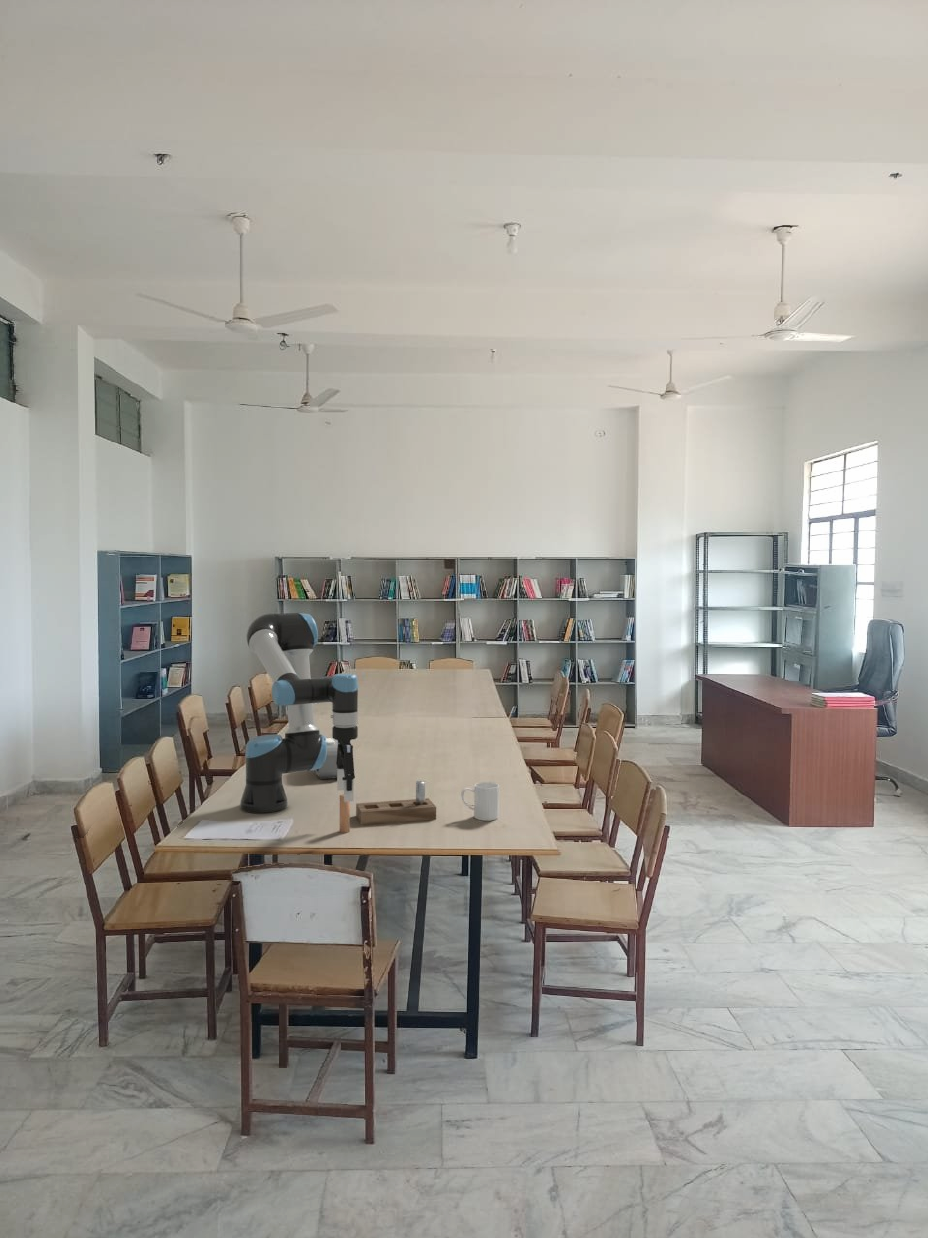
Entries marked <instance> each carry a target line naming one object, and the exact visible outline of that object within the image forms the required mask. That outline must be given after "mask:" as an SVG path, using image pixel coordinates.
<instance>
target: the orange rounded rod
mask: <svg viewBox="0 0 928 1238" xmlns="http://www.w3.org/2000/svg"><path fill="white" fill-rule="evenodd" d="M350 804H351V801H349V802H344V793H343V794H340V795H339V833H341V834H346V833H347V834H348V833H349V832H350V829H351V827H350V826H351V825H350V821H351V820H350V819H351V818H350V816H351V815H350V814H351V813H350V812H351V808H350V807H351V806H350Z"/></svg>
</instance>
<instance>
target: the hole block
mask: <svg viewBox="0 0 928 1238" xmlns="http://www.w3.org/2000/svg"><path fill="white" fill-rule="evenodd" d="M355 804H356V805H355V807H356V808H355V816H356V818H357V819H358V821H359V823H360V825H361V826H364V825H365V826H366V825H377V824H390V823H401V822H402V823H403V822H416V821H417V822H418V821H427V820H428V821H429V820H437V806H436V804H434V802H433V801H432V800H431V799H430V798H426V797H425V805H417V806H416V798H415V799H398V800H385V801H384V800H383V801H371V802H356V803H355Z"/></svg>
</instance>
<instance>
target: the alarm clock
mask: <svg viewBox="0 0 928 1238" xmlns="http://www.w3.org/2000/svg"><path fill="white" fill-rule="evenodd" d="M325 738H326V742H327V755H326V759H325V762H324V764H323V766H322V767H321V768H319V769H315V770H313V771H314V772H315V774H316V776H318V778H319V779H320V780H324V779H325V780H327V779H337V769H339V768H337V764H336V761H337V748H338V740H335V739H333V737H332V738H331V737H330V738H327V737H325Z"/></svg>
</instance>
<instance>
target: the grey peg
mask: <svg viewBox="0 0 928 1238" xmlns="http://www.w3.org/2000/svg"><path fill="white" fill-rule="evenodd" d="M415 799H416V806H417V805H425V799H426V781H424V780H416V781H415Z"/></svg>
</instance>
